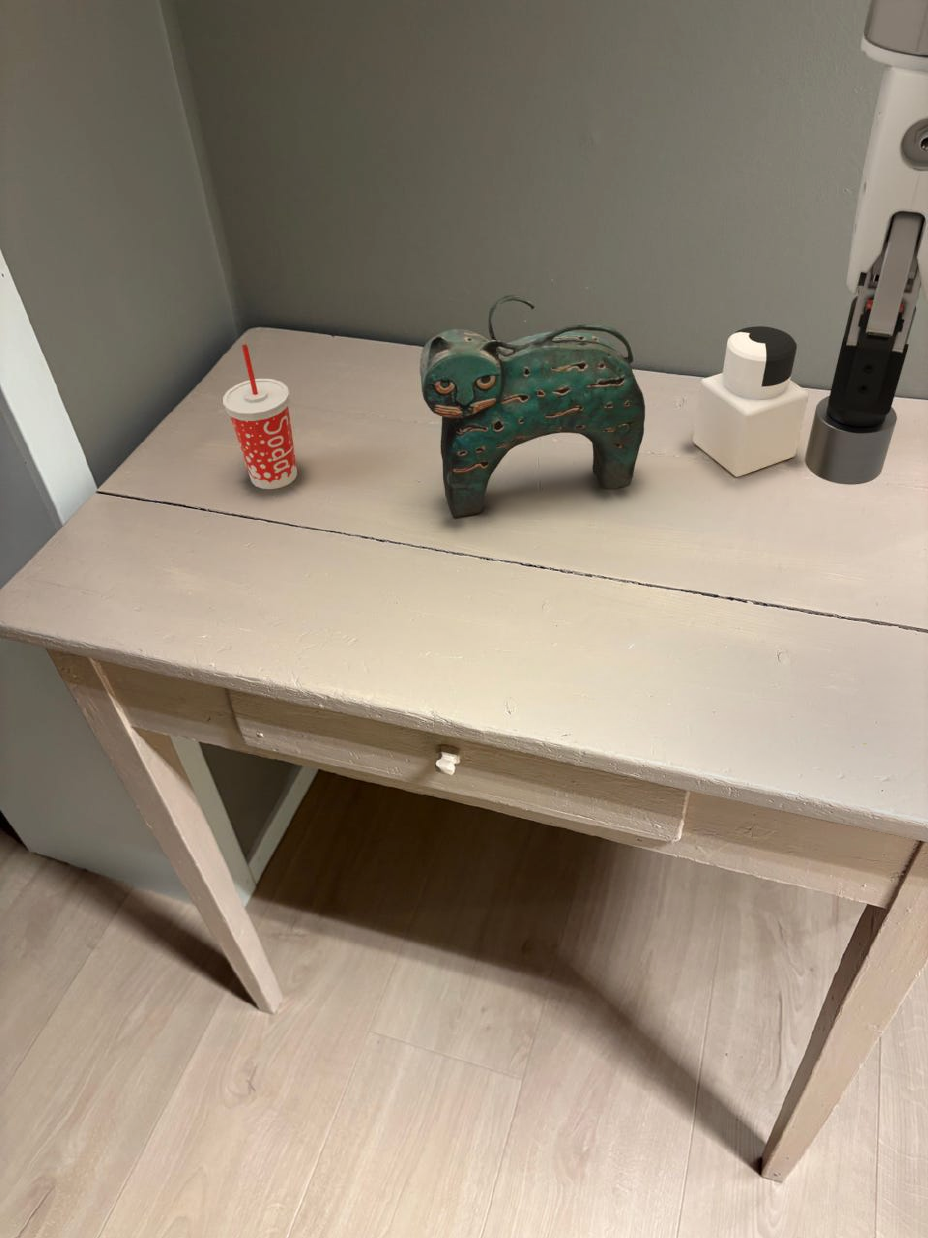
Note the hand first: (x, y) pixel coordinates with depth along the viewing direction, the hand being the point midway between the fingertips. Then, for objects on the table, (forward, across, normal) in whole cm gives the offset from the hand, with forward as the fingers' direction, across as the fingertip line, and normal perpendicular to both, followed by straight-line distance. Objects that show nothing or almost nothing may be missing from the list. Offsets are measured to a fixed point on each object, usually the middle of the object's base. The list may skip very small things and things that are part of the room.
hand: (863, 387), depth 54 cm
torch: (+5, 0, 0) cm, 5 cm away
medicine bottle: (+26, +30, +9) cm, 41 cm away
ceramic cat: (+25, +17, +26) cm, 40 cm away
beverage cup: (+25, +12, +51) cm, 58 cm away
